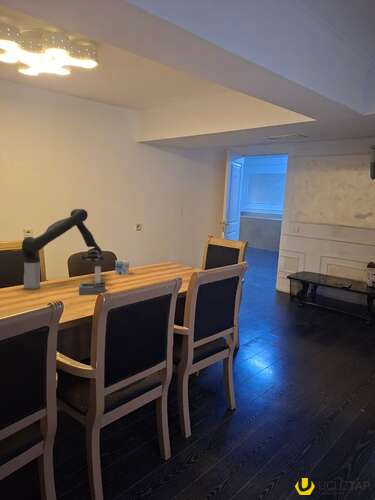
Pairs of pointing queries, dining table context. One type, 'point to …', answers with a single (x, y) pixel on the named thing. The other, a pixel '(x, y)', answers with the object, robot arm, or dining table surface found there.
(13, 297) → the dining table surface
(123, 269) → the light bulb box
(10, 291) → the dining table surface
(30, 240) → the robot arm
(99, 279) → the steel post
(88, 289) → the keyhole board
